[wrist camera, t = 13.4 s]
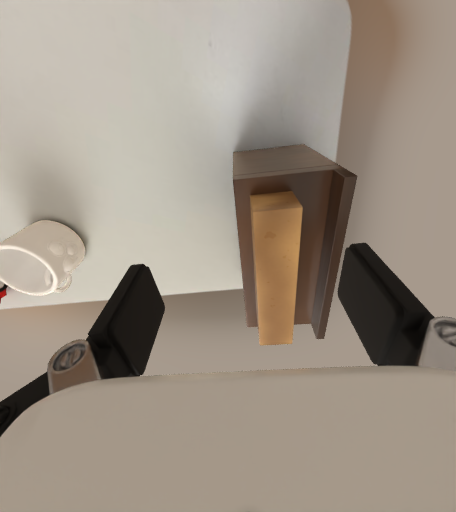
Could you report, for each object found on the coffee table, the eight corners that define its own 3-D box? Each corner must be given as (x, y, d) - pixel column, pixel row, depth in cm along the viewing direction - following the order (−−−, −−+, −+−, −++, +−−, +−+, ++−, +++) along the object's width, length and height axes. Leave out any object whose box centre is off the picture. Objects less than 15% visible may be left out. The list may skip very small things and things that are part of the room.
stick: (292, 190, 21) (303, 207, 18) (286, 318, 31) (292, 344, 28) (249, 195, 22) (252, 211, 18) (257, 320, 32) (259, 345, 28)
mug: (107, 268, 45) (81, 301, 37) (60, 275, 46) (26, 309, 39) (73, 212, 38) (34, 239, 31) (19, 222, 39) (-31, 250, 32)
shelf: (304, 143, 32) (357, 175, 18) (295, 264, 43) (324, 338, 30) (233, 152, 33) (233, 188, 19) (243, 268, 44) (248, 342, 31)
